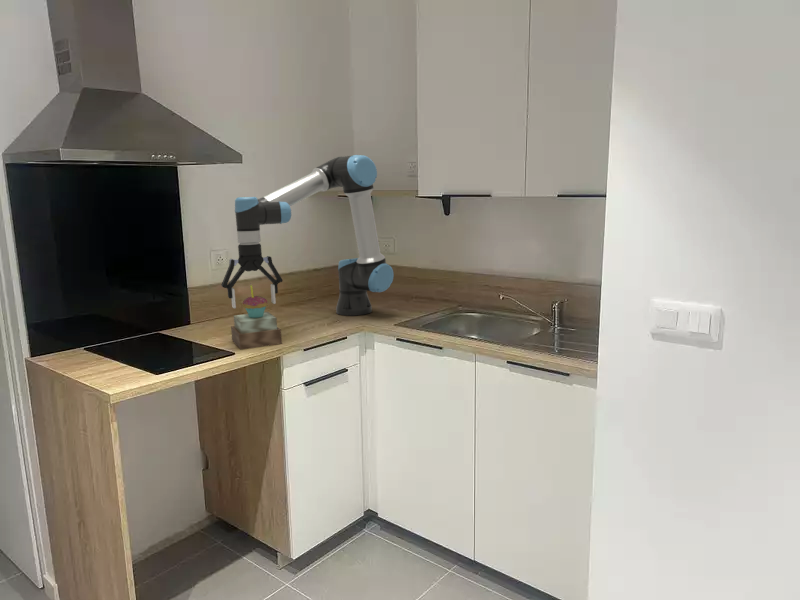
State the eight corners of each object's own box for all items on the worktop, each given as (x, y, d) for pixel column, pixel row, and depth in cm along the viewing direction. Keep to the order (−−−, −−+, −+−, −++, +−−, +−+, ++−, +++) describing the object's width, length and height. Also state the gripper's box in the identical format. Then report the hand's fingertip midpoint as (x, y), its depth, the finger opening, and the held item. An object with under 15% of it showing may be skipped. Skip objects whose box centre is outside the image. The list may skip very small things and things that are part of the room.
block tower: (271, 335, 209) (269, 310, 208) (281, 343, 197) (280, 317, 195) (232, 340, 203) (230, 315, 202) (240, 349, 191) (238, 323, 189)
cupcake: (261, 319, 194) (259, 284, 192) (238, 318, 196) (235, 283, 193) (272, 314, 202) (270, 280, 200) (250, 313, 204) (248, 280, 202)
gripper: (282, 240, 203) (286, 299, 207) (209, 245, 192) (214, 307, 196) (288, 241, 196) (292, 302, 200) (212, 246, 185) (218, 311, 189)
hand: (254, 305), depth 198 cm, fingers open, 13 cm apart
